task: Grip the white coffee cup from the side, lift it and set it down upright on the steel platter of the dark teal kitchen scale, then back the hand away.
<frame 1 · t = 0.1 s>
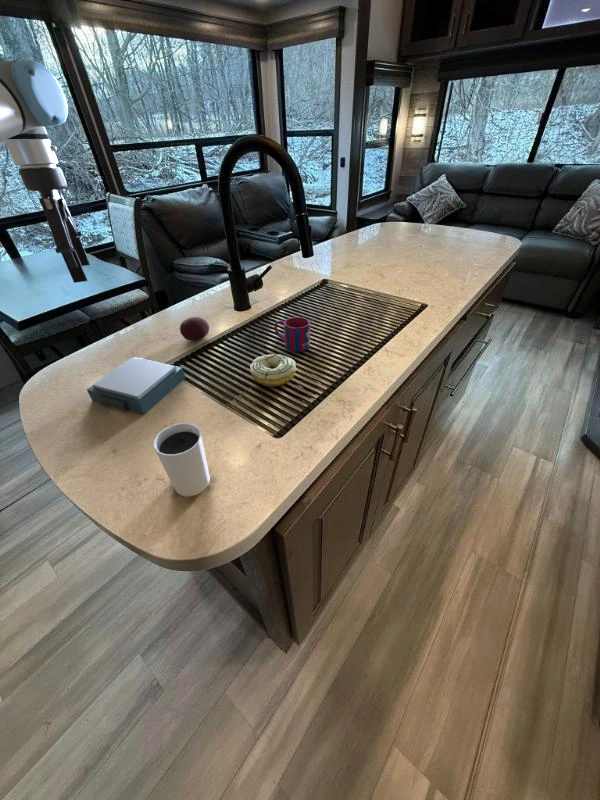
hand: (82, 273, 81), 19 cm above the worktop, tool pointing down, fingers open, 13 cm apart
decorated donut: (273, 376, 78), on the worktop
scale: (140, 389, 75), on the worktop
plum: (196, 338, 93), on the worktop
mug: (292, 345, 90), on the worktop
white coffee cup: (192, 482, 54), on the worktop
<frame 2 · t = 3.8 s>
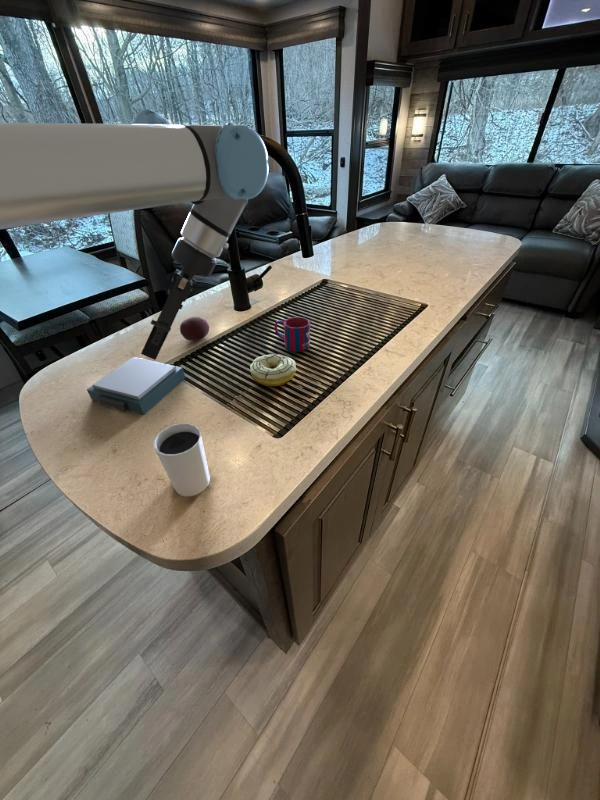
hand: (154, 343, 68), 11 cm above the worktop, tool tilted 35°, fingers open, 13 cm apart
nothing on the worktop moved.
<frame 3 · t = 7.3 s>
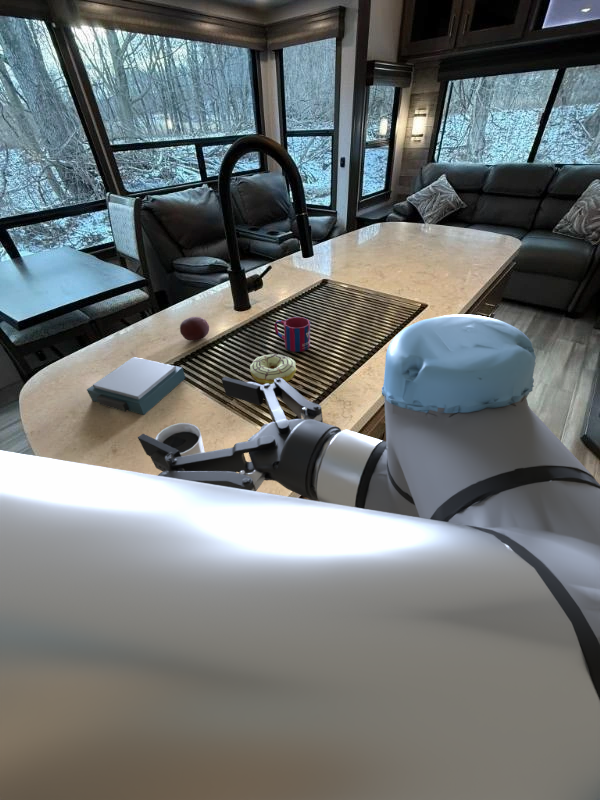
hand: (189, 411, 43), 16 cm above the worktop, tool horizontal, fingers open, 13 cm apart
nothing on the worktop moved.
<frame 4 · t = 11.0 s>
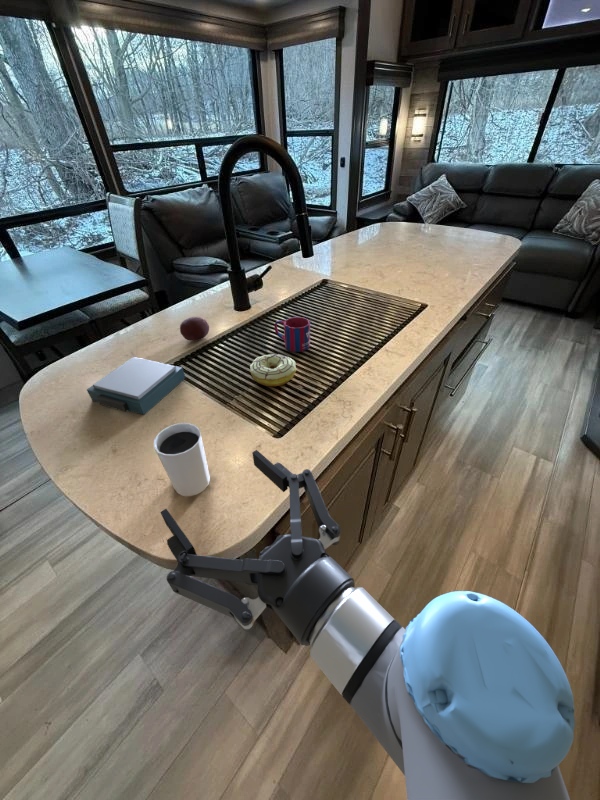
hand: (214, 484, 44), 8 cm above the worktop, tool horizontal, fingers open, 13 cm apart
nothing on the worktop moved.
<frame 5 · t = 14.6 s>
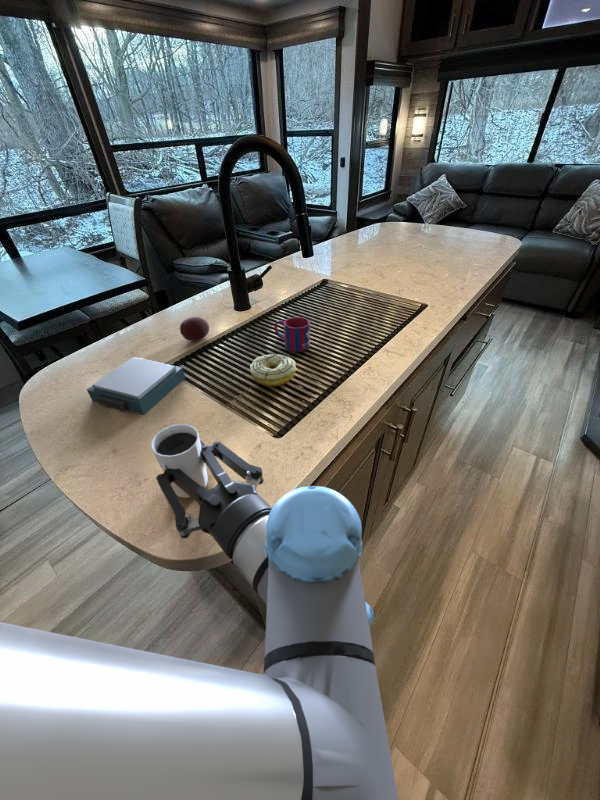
hand: (168, 438, 54), 6 cm above the worktop, tool horizontal, fingers closed on white coffee cup, 3 cm apart
white coffee cup: (190, 483, 54), on the worktop, touching gripper
everything else where it was.
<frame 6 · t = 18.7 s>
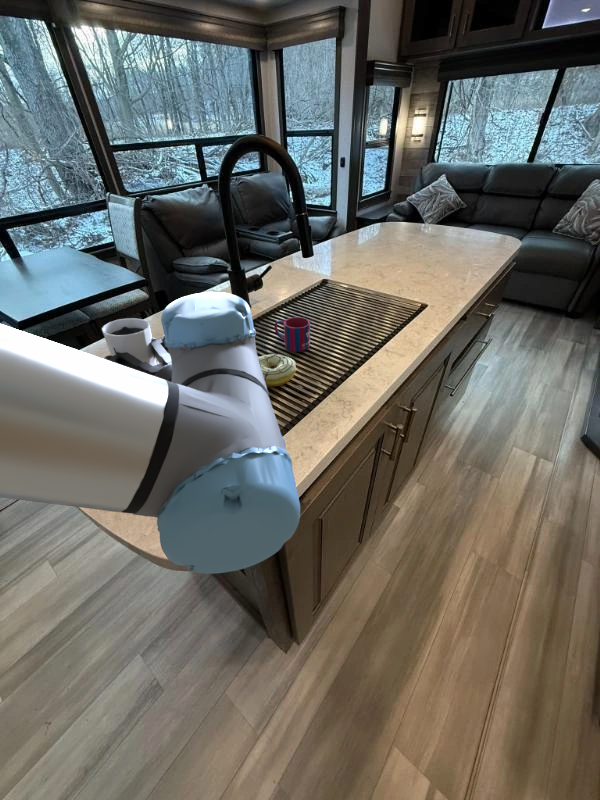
hand: (122, 336, 56), 18 cm above the worktop, tool horizontal, fingers closed on white coffee cup, 3 cm apart
white coffee cup: (141, 382, 56), point 12 cm above the worktop, touching gripper
everything else where it was.
when the fingers open (10 cm above the worktop, at t = 23.1 s): white coffee cup moves 1 cm, resting on scale.
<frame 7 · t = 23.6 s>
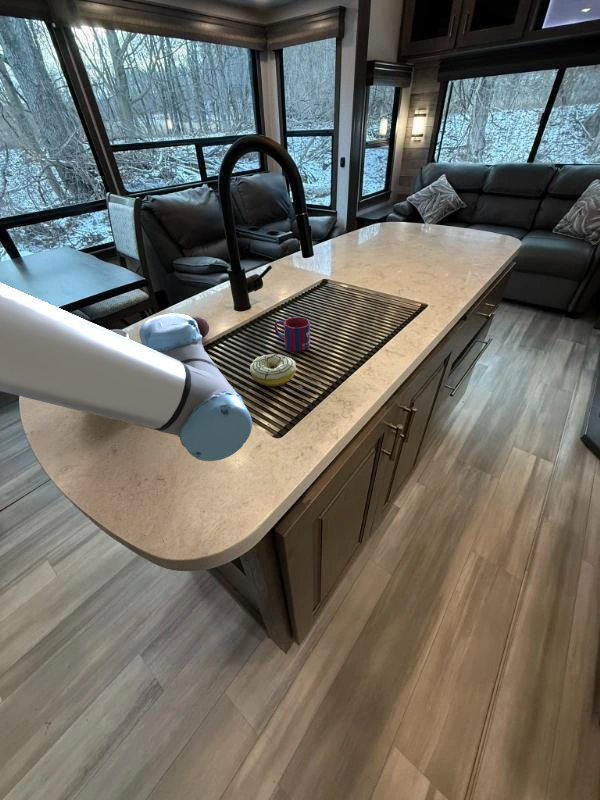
hand: (118, 343, 71), 10 cm above the worktop, tool horizontal, fingers open, 11 cm apart
white coffee cup: (127, 379, 71), point 4 cm above the worktop, touching scale
everything else where it was.
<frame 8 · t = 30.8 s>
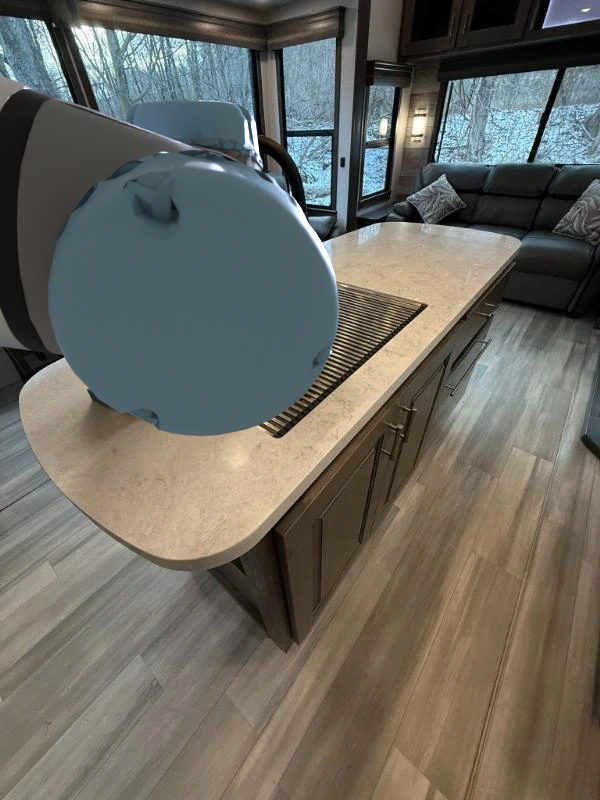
hand: (104, 268, 46), 30 cm above the worktop, tool horizontal, fingers open, 13 cm apart
nothing on the worktop moved.
at the end: white coffee cup inside the target area on the scale (2.0 cm from its centre), point 3.6 cm above the scale's base; white coffee cup tilted 0°; the gripper is holding nothing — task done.
